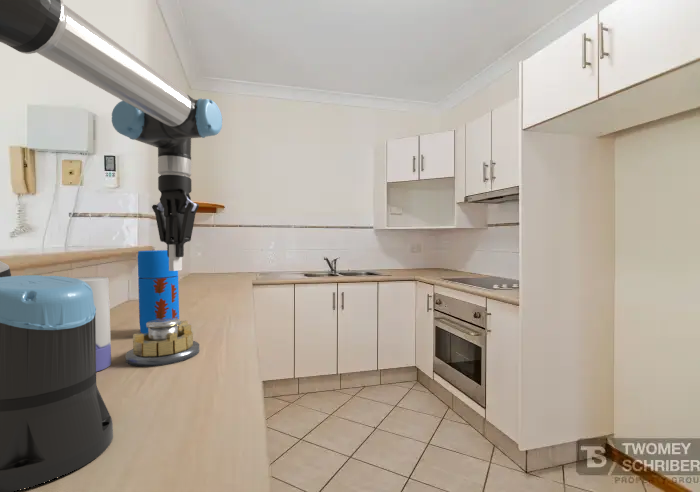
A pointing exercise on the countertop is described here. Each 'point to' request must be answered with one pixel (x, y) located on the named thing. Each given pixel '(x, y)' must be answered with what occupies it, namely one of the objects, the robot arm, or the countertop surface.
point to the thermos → (156, 288)
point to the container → (101, 319)
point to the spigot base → (161, 358)
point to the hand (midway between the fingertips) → (175, 270)
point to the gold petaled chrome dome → (164, 342)
